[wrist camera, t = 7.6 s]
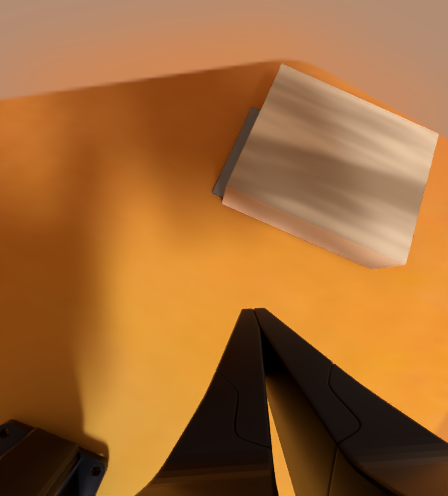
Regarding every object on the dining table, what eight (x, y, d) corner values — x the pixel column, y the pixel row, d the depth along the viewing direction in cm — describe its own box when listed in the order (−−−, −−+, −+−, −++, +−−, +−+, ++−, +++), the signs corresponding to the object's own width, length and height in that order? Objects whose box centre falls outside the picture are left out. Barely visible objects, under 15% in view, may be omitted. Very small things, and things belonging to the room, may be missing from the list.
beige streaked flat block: (405, 264, 14) (438, 133, 16) (226, 186, 14) (281, 63, 16) (371, 269, 17) (402, 157, 19) (221, 203, 17) (269, 98, 19)
